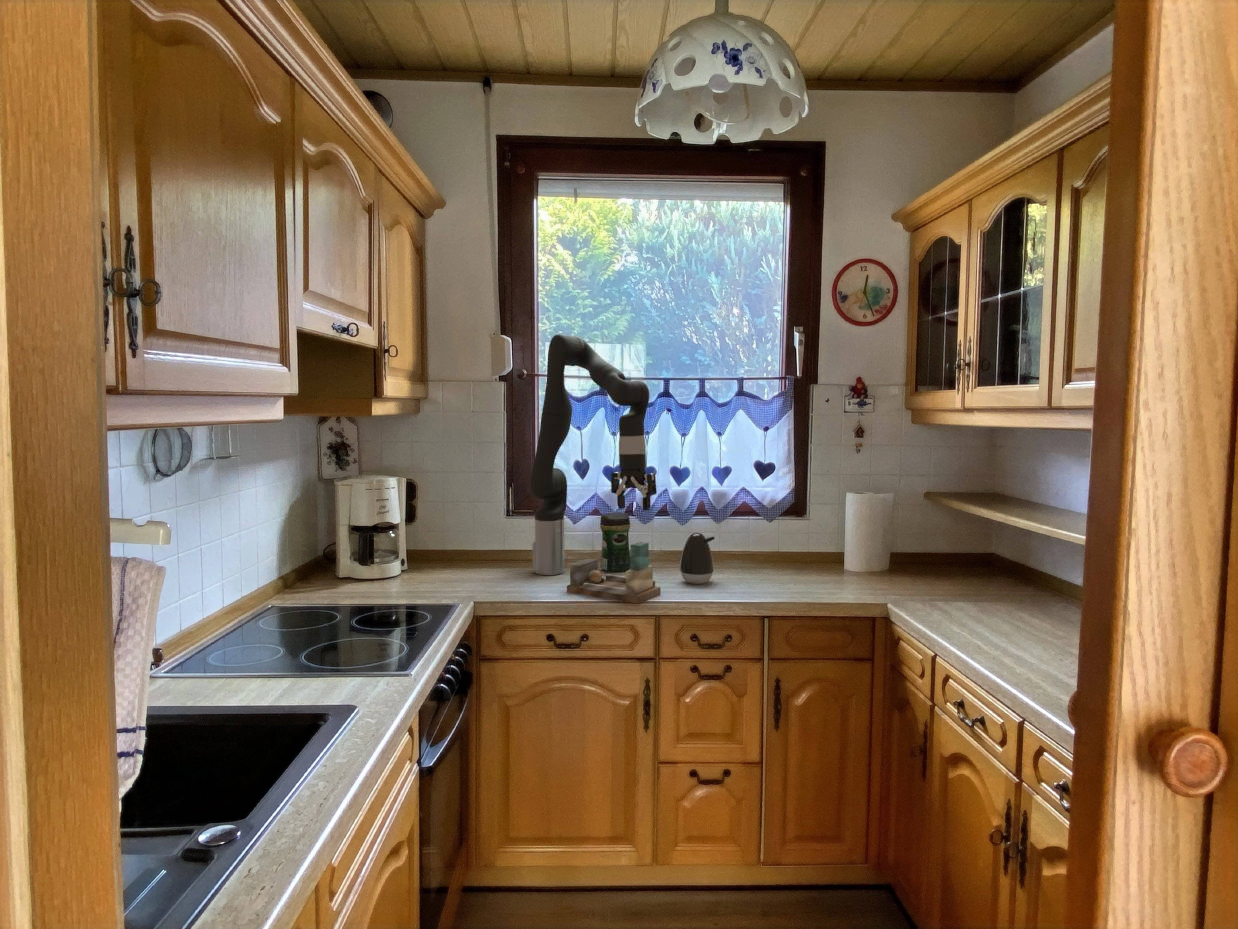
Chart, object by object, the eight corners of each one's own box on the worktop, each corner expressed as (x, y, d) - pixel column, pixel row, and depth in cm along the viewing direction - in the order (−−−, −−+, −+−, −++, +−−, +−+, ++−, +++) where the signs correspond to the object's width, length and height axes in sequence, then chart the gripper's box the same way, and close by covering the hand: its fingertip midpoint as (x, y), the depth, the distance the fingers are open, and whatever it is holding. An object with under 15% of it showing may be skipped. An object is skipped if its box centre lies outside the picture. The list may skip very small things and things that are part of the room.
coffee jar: (624, 566, 256) (624, 510, 254) (633, 571, 249) (634, 513, 247) (597, 568, 252) (596, 512, 251) (606, 573, 245) (605, 515, 243)
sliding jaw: (625, 592, 213) (625, 546, 211) (643, 585, 221) (643, 540, 220) (635, 594, 211) (635, 547, 210) (652, 586, 220) (652, 541, 218)
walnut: (585, 584, 223) (585, 570, 222) (593, 581, 226) (593, 568, 226) (597, 586, 221) (597, 572, 220) (604, 583, 224) (604, 569, 224)
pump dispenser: (710, 587, 227) (710, 536, 226) (676, 584, 230) (676, 534, 229) (717, 579, 237) (717, 530, 235) (684, 577, 240) (684, 528, 239)
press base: (565, 592, 221) (565, 565, 220) (590, 583, 232) (590, 557, 232) (638, 604, 209) (638, 575, 208) (661, 593, 220) (661, 566, 219)
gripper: (604, 452, 218) (605, 509, 219) (644, 453, 209) (646, 512, 210) (620, 450, 223) (622, 506, 225) (660, 451, 215) (662, 509, 216)
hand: (633, 509), depth 217 cm, fingers open, 8 cm apart
